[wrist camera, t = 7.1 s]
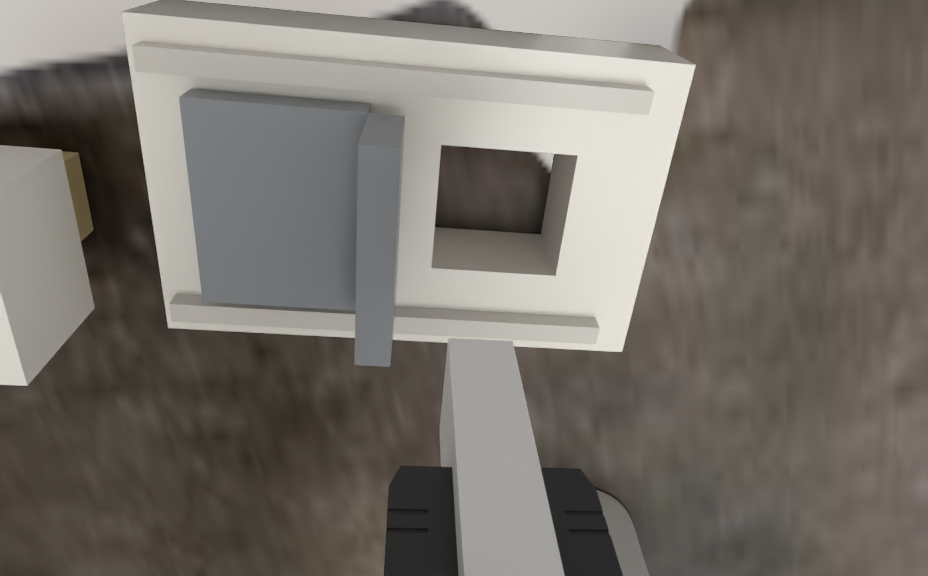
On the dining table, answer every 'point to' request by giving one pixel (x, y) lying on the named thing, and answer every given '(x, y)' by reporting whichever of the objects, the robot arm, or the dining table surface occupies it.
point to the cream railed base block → (433, 161)
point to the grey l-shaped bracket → (297, 206)
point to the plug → (40, 257)
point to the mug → (623, 536)
